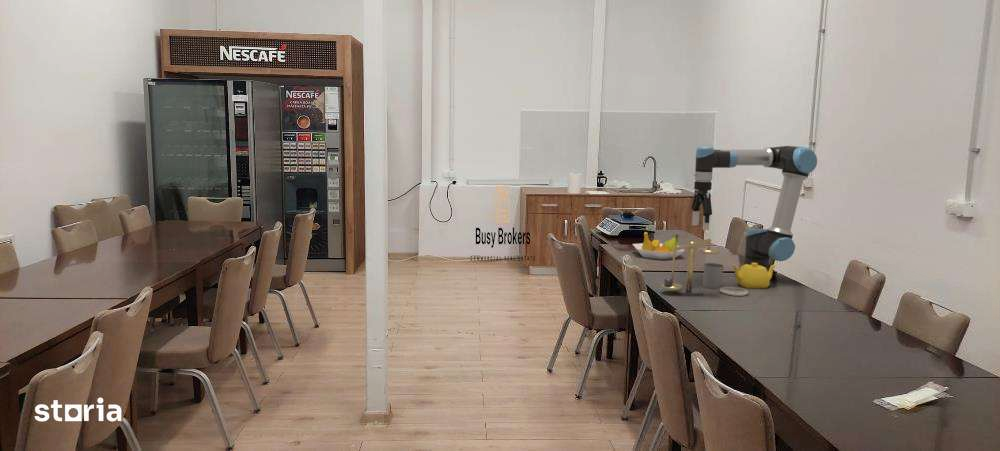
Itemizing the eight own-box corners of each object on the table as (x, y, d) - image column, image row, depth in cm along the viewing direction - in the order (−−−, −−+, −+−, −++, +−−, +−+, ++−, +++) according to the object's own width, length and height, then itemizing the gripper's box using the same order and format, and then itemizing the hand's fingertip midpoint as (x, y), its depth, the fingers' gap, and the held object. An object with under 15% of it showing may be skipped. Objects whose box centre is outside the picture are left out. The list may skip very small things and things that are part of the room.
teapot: (765, 281, 337) (767, 259, 335) (782, 289, 322) (784, 266, 320) (721, 281, 335) (723, 258, 333) (735, 289, 320) (737, 265, 318)
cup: (722, 289, 318) (724, 267, 317) (703, 287, 320) (705, 266, 319) (720, 285, 327) (722, 263, 325) (702, 283, 328) (703, 262, 327)
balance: (711, 290, 315) (715, 237, 311) (719, 296, 306) (723, 240, 302) (658, 290, 312) (661, 236, 308) (664, 295, 303) (668, 240, 300)
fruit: (687, 262, 377) (689, 235, 375) (638, 260, 377) (640, 234, 375) (674, 251, 407) (676, 226, 404) (629, 250, 407) (630, 225, 405)
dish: (740, 289, 319) (741, 287, 318) (752, 296, 307) (753, 293, 307) (715, 289, 317) (715, 286, 317) (726, 296, 306) (726, 293, 305)
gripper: (686, 178, 331) (683, 223, 335) (704, 183, 307) (701, 232, 310) (701, 178, 332) (699, 223, 335) (721, 183, 307) (718, 232, 311)
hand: (700, 227), depth 323 cm, fingers open, 13 cm apart
